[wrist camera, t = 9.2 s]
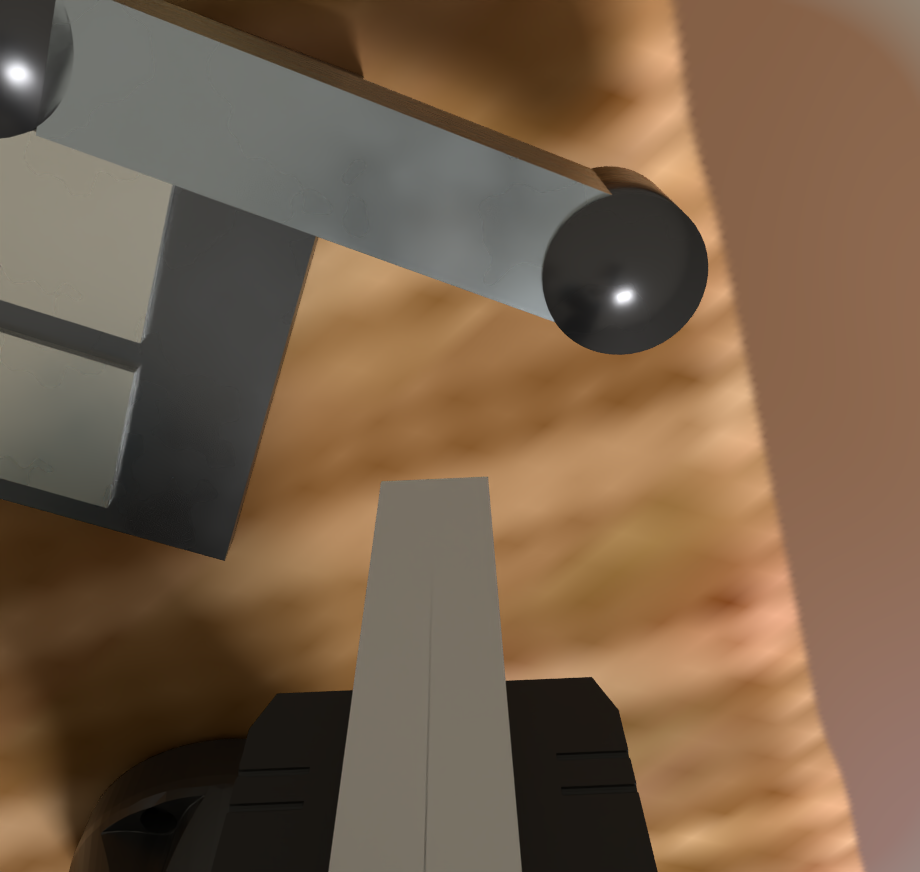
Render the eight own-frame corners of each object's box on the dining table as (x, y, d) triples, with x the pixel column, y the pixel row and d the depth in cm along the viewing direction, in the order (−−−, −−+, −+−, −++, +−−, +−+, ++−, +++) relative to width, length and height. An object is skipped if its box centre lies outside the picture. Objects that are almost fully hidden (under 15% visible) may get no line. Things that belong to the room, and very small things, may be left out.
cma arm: (704, 189, 21) (742, 220, 19) (633, 334, 23) (658, 382, 20) (-46, -110, 19) (-137, -127, 16) (-65, 81, 20) (-150, 96, 17)
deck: (232, 540, 31) (206, 605, 27) (-191, 421, 28) (-273, 476, 25) (365, 69, 24) (352, 81, 21) (-180, -137, 22) (-290, -158, 18)
